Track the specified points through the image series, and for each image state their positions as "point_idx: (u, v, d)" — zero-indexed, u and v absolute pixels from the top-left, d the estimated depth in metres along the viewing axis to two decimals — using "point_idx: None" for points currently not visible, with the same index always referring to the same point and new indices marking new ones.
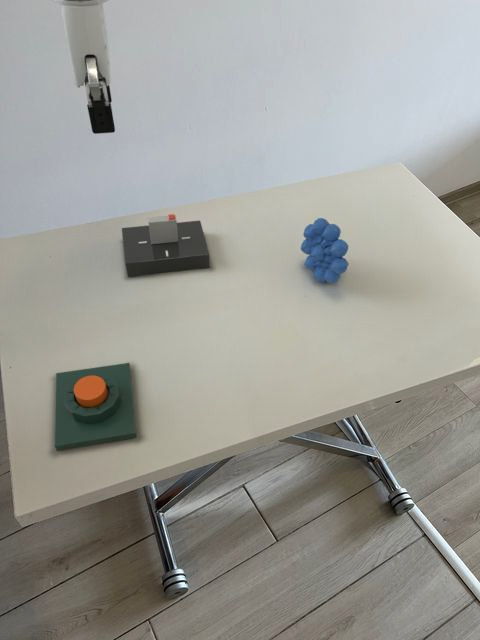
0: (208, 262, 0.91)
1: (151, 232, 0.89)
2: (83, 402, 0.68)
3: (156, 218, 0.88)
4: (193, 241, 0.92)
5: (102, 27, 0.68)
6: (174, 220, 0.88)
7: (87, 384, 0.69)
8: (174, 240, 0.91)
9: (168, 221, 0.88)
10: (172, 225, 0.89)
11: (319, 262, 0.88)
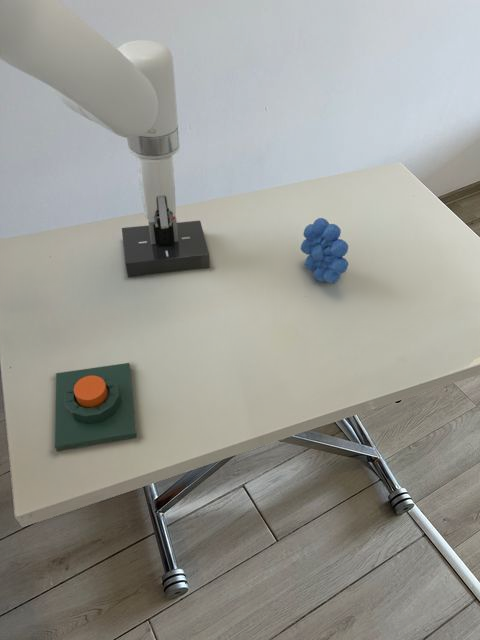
0: (208, 262, 0.91)
1: (151, 232, 0.89)
2: (83, 402, 0.68)
3: None
4: (193, 241, 0.92)
5: (172, 173, 0.79)
6: (174, 220, 0.88)
7: (87, 384, 0.69)
8: (174, 240, 0.91)
9: None
10: None
11: (319, 262, 0.88)
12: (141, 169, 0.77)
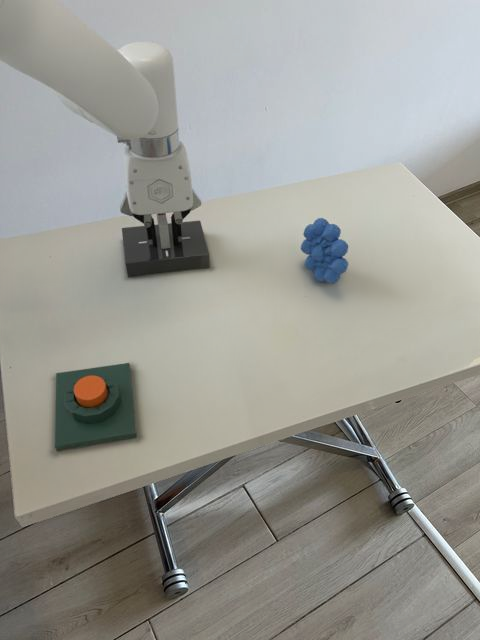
0: (208, 262, 0.91)
1: None
2: (83, 402, 0.68)
3: (161, 221, 0.88)
4: (193, 241, 0.92)
5: None
6: None
7: (87, 384, 0.69)
8: None
9: None
10: None
11: (319, 262, 0.88)
12: (183, 161, 0.79)
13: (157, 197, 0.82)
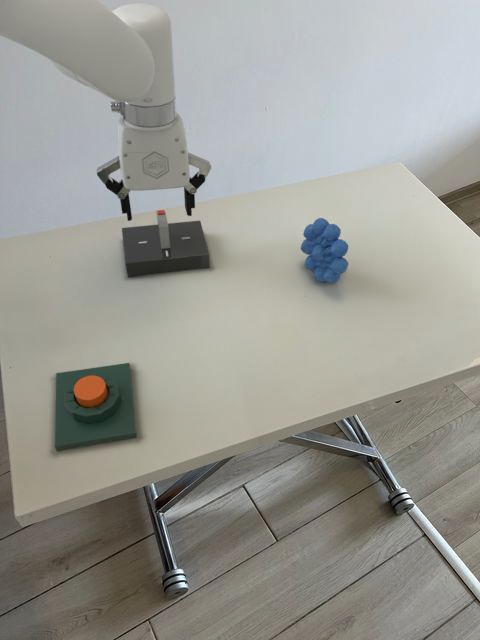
0: (208, 262, 0.91)
1: None
2: (83, 402, 0.68)
3: (161, 221, 0.88)
4: (193, 241, 0.92)
5: None
6: None
7: (87, 384, 0.69)
8: None
9: None
10: None
11: (319, 262, 0.88)
12: (180, 133, 0.76)
13: (152, 171, 0.79)
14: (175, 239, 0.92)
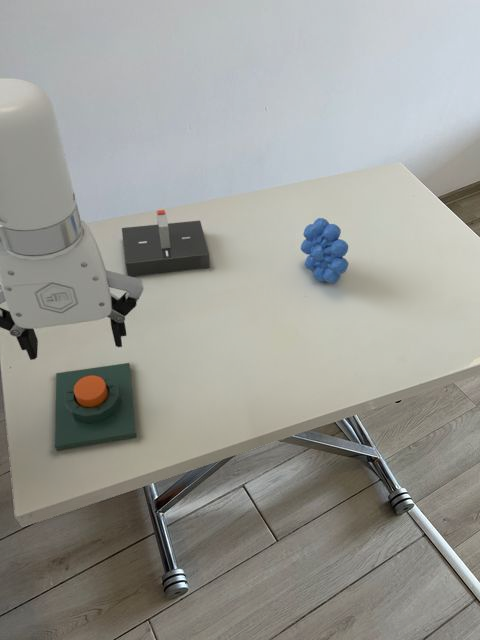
0: (208, 262, 0.91)
1: None
2: (83, 402, 0.68)
3: (161, 221, 0.88)
4: (193, 241, 0.92)
5: None
6: None
7: (87, 384, 0.69)
8: None
9: None
10: None
11: (319, 262, 0.88)
12: (88, 256, 0.52)
13: (53, 305, 0.54)
14: (175, 239, 0.92)
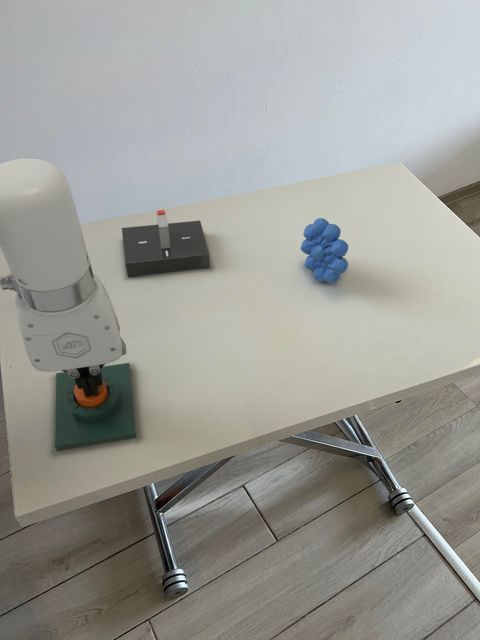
0: (208, 262, 0.91)
1: None
2: (84, 403, 0.68)
3: (161, 221, 0.88)
4: (193, 241, 0.92)
5: None
6: None
7: None
8: None
9: None
10: None
11: (319, 262, 0.88)
12: (101, 309, 0.56)
13: (69, 352, 0.59)
14: (175, 239, 0.92)
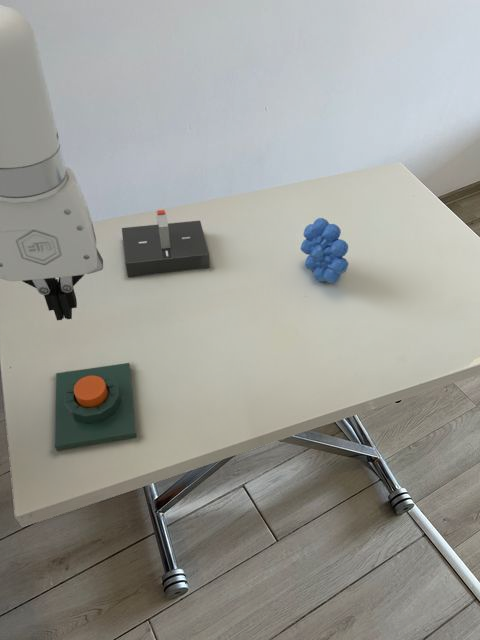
0: (208, 262, 0.91)
1: None
2: (83, 402, 0.68)
3: (161, 221, 0.88)
4: (193, 241, 0.92)
5: None
6: None
7: (87, 384, 0.69)
8: None
9: None
10: None
11: (319, 262, 0.88)
12: (72, 203, 0.49)
13: (36, 256, 0.52)
14: (175, 239, 0.92)
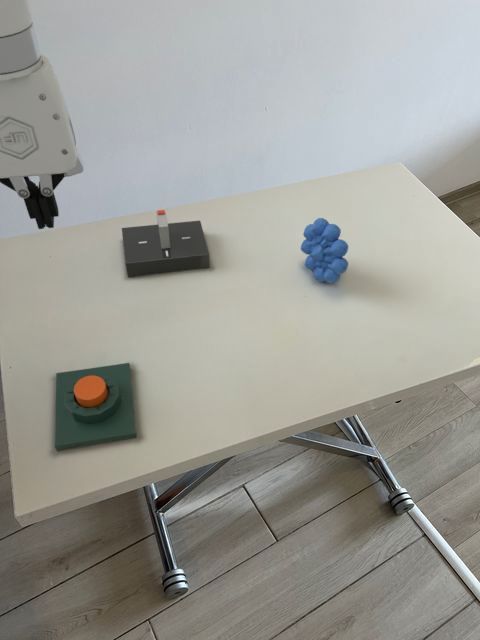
0: (208, 262, 0.91)
1: None
2: (83, 402, 0.68)
3: (161, 221, 0.88)
4: (193, 241, 0.92)
5: None
6: None
7: (87, 384, 0.69)
8: None
9: None
10: None
11: (319, 262, 0.88)
12: (47, 87, 0.48)
13: (12, 149, 0.51)
14: (175, 239, 0.92)
